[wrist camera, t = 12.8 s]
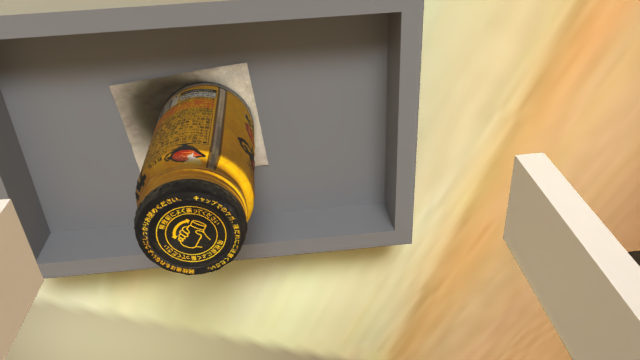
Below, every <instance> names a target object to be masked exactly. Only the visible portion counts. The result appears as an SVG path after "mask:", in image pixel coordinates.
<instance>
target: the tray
mask: <svg viewBox="0 0 640 360" xmlns="http://www.w3.org/2000/svg"><path fill="white" fill-rule="evenodd" d="M423 11H424V0H0V200H2V199H11V201H12V203H13V206H14V208H15V211H16V213H17V216H18V218H19V221H20V223H21V225H22V228H23V230H24V233H25V235H26V238H27V240H28V242H29V245H30V247H31V250H32V252H33V255H34V257H35V260H36V262H37V264H38V267H39V269H40V272H41V274H42V277H43V279H44V278H55V277H65V276H76V275H86V274H97V273H107V272H118V271H128V270H139V269H149V268H160V266H158V265H157V264H155V263H154V262H152V261H151V260H149V259H148V258H147V257H146V255H145V254H144V253H143V251H142V250H141V248H140V247H139V244H138V241H137V239H136V236H135V230H134V218H135V213H136V210H137V203H136V195H135V192H136V186H137V180H138V178H139V175H140V170H139V167H138V164H137V162H136V159H135V156H134V153H133V150H132V145H131V144H130V141H129V139H128V136H127V133H126V130H125V127H124V124H123V122H122V119H121V116H120V113H119V111H118V108H117V105H116V102H115V100H114V98H113V95H112V93H111V90H110V87H109V86H111V85H117V84H125V83H130V82H134V81H139V80H145V79H152V78H157V77H165V76H170V75H174V74H180V73H185V72H192V71H196V70H202V69H211V68H215V67H221V66H228V65H234V64H241V63H247V66H248V70H249V75H250V80H251V85H252V89H253V94H254V98H255V103H256V108H257V112H258V117H259V122H260V126H261V131H262V136H263V141H264V146H265V150H266V155H267V160H268V165H261V166H255V170H254V183H255V184H254V192H255V198H254V207H253V211H252V214H251V217H250V219H249V220H248V222H247V224H248V226H247V233H246V239H245V241H244V243H243V245H242V248H241V250H240V252H239V253H238V255H237V256H236V257H235V259H234V260H244V259H254V258H265V257H275V256H286V255H296V254H307V253H317V252H328V251H338V250H349V249H359V248H370V247H380V246H391V245H401V244H412V227H413V208H414V188H415V168H416V149H417V129H418V109H419V90H420V70H421V50H422V31H423Z"/></svg>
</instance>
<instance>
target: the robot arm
mask: <svg viewBox="0 0 640 360" xmlns="http://www.w3.org/2000/svg"><path fill="white" fill-rule="evenodd" d="M503 239H504V240H505V242H506V244H507V246H508V247H509V249H510V251H511V253H512V254H513V256H514V258H515V260H516V261H517V263H518V265H519V267H520V268H521V270H522V272H523V274H524V275H525V277H526V279H527V281H528V282H529V284H530V286H531V288H532V289H533V291H534V293H535V295H536V296H537V298H538V300H539V302H540V303H541V305H542V307H543V309H544V310H545V312H546V314H547V316H548V317H549V319H550V321H551V323H552V324H553V326H554V328H555V330H556V331H557V333H558V335H559V337H560V338H561V340H562V342H563V344H564V345H565V347H566V349H567V351H568V352H569V354H570V356H571V358H572V359H573V360H640V251H633V252H627V251H626V250H625V249H624V247H623V246H622V245H621V244H620V243H619V241H618V240H617V239H616V238H615V237H614V236H613V234H612V233H611V232H610V231H609V230H608V228H607V227H606V226H605V225H604V224H603V222H602V221H601V220H600V219H599V218H598V217H597V215H596V214H595V213H594V212H593V211H592V209H591V208H590V207H589V206H588V205H587V204H586V202H585V201H584V200H583V199H582V198H581V196H580V195H579V194H578V193H577V192H576V191H575V189H574V188H573V187H572V186H571V185H570V183H569V182H568V181H567V180H566V179H565V177H564V176H563V175H562V174H561V173H560V172H559V170H558V169H557V168H556V167H555V166H554V164H553V163H552V162H551V161H550V160H549V159H548V157H547V156H546V155H545V154H544V153H535V154H523V155H515V160H514V167H513V174H512V180H511V187H510V194H509V201H508V208H507V215H506V222H505V229H504V236H503ZM43 281H44V279H43V277H42V274H41V272H40V269H39V267H38V264H37V262H36V260H35V257H34V255H33V252H32V250H31V247H30V245H29V242H28V240H27V238H26V235H25V233H24V230H23V228H22V225H21V223H20V221H19V218H18V216H17V213H16V211H15V208H14V206H13V203H12V201H11V199H2V200H0V360H5V358H6V356H7V354H8V352H9V350H10V348H11V346H12V343H13V342H14V340H15V338H16V336H17V334H18V331H19V329H20V327H21V326H22V323H23V321H24V319H25V317H26V315H27V313H28V311H29V309H30V307H31V305H32V303H33V301H34V299H35V297H36V295H37V293H38V291H39V289H40V287H41V285H42V283H43Z"/></svg>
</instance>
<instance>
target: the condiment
mask: <svg viewBox="0 0 640 360" xmlns="http://www.w3.org/2000/svg"><path fill="white" fill-rule="evenodd" d="M109 87H110V90H111V93H112V95H113V98H114V100H115V102H116V105H117V108H118V111H119V113H120V116H121V119H122V122H123V124H124V127H125V130H126V133H127V136H128V139H129V141H130V144H131V145H132V150H133V153H134V156H135V159H136V162H137V164H138V167H139V170H140V175H139V178H138V180H137V186H136V192H135V195H136V203H137V210H136V213H135V218H134V230H135V236H136V239H137V241H138V244H139V247H140V248H141V250H142V251H143V253H144V254H145V255H146V257H147V258H148V259H149V260H151V261H152V262H154V263H155V264H157V265H158V266H160V267H162V268H164V269H166V270H169V271H172V272H177V273H182V274H186V275H192V274H204V273H208V272H213V271H215V270H219V269H220V268H221V267H223V266H224V265H226V264H227V263H229V262H231V261H233V260H234V259H235V257H236V256H237V255H238V253H239V252H240V250H241V248H242V245H243V243H244V241H245V239H246V233H247V226H248V224H247V222H248V220H249V219H250V217H251V214H252V211H253V207H254V198H255V192H254V184H255V183H254V170H255V166H261V165H268V160H267V155H266V150H265V146H264V141H263V136H262V131H261V126H260V122H259V117H258V112H257V108H256V103H255V98H254V94H253V89H252V85H251V80H250V75H249V70H248V66H247V63H241V64H234V65H228V66H221V67H215V68H211V69H202V70H196V71H192V72H185V73H180V74H174V75H170V76H165V77H157V78H152V79H145V80H139V81H134V82H130V83H125V84H117V85H111V86H109Z"/></svg>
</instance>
